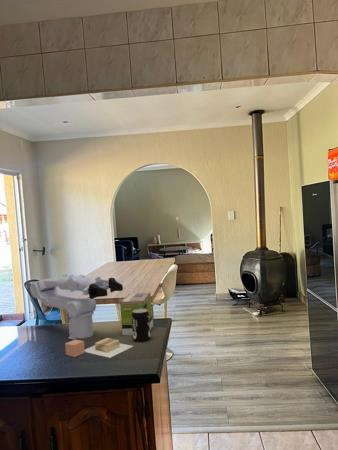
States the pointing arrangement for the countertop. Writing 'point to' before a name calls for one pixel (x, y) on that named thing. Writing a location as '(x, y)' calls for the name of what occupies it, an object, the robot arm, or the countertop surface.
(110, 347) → the bottom brick
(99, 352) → the build plate
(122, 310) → the tea box
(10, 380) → the countertop surface
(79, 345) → the top brick
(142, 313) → the beverage can
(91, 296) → the robot arm
